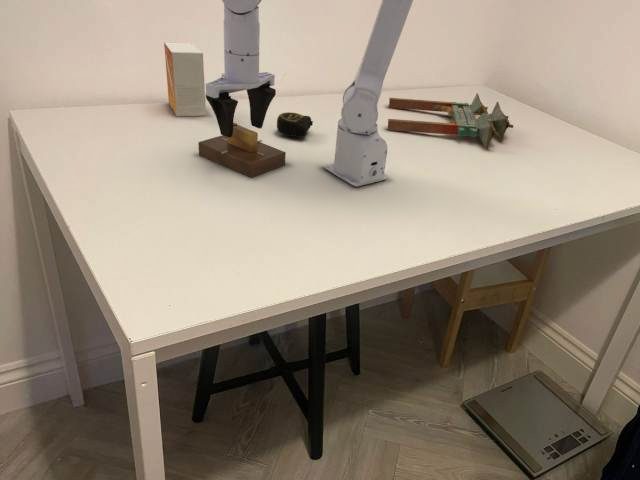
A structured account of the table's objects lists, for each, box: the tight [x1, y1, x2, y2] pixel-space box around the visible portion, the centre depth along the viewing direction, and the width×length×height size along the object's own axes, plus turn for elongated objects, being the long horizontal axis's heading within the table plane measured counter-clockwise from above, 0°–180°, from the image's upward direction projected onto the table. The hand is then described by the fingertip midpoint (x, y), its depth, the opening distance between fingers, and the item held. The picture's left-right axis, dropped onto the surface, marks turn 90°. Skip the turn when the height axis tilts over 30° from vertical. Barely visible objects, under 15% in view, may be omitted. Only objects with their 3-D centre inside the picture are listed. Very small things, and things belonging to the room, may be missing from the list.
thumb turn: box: [227, 121, 259, 153], centre depth 101 cm, size 6×2×4 cm, turn 58°
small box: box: [163, 41, 207, 117], centre depth 118 cm, size 8×6×13 cm
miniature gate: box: [387, 92, 514, 151], centre depth 137 cm, size 27×6×30 cm
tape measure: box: [276, 111, 314, 138], centre depth 118 cm, size 7×7×4 cm
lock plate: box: [198, 135, 287, 178], centre depth 103 cm, size 13×10×3 cm
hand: (242, 131), depth 101 cm, fingers open, 7 cm apart
